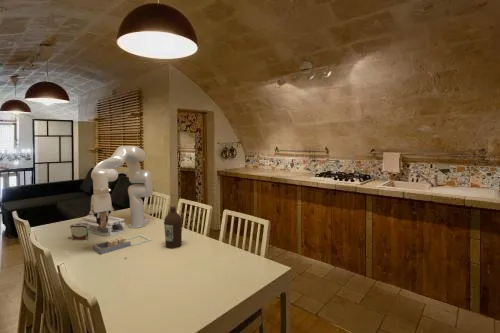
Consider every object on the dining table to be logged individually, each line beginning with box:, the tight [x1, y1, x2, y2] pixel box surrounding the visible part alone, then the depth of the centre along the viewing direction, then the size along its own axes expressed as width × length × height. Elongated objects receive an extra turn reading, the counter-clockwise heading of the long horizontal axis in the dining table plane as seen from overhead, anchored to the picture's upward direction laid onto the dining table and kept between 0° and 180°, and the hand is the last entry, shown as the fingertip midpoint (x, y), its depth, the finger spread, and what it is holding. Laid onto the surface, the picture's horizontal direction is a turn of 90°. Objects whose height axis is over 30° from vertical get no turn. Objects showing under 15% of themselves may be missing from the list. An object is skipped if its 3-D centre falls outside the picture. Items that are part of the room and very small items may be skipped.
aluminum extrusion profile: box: [79, 214, 126, 238], centre depth 202 cm, size 14×31×10 cm, turn 62°
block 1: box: [107, 238, 118, 247], centre depth 167 cm, size 4×4×4 cm
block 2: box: [115, 236, 127, 244], centre depth 171 cm, size 4×4×4 cm
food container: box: [69, 222, 89, 241], centre depth 185 cm, size 12×6×10 cm, turn 84°
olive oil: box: [163, 204, 183, 249], centre depth 172 cm, size 11×11×25 cm
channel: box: [92, 238, 132, 255], centre depth 167 cm, size 17×11×4 cm
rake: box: [97, 212, 108, 233], centre depth 161 cm, size 3×8×12 cm, turn 49°
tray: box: [125, 234, 153, 247], centre depth 178 cm, size 13×14×2 cm
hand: (102, 223), depth 162 cm, fingers closed on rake, 3 cm apart
